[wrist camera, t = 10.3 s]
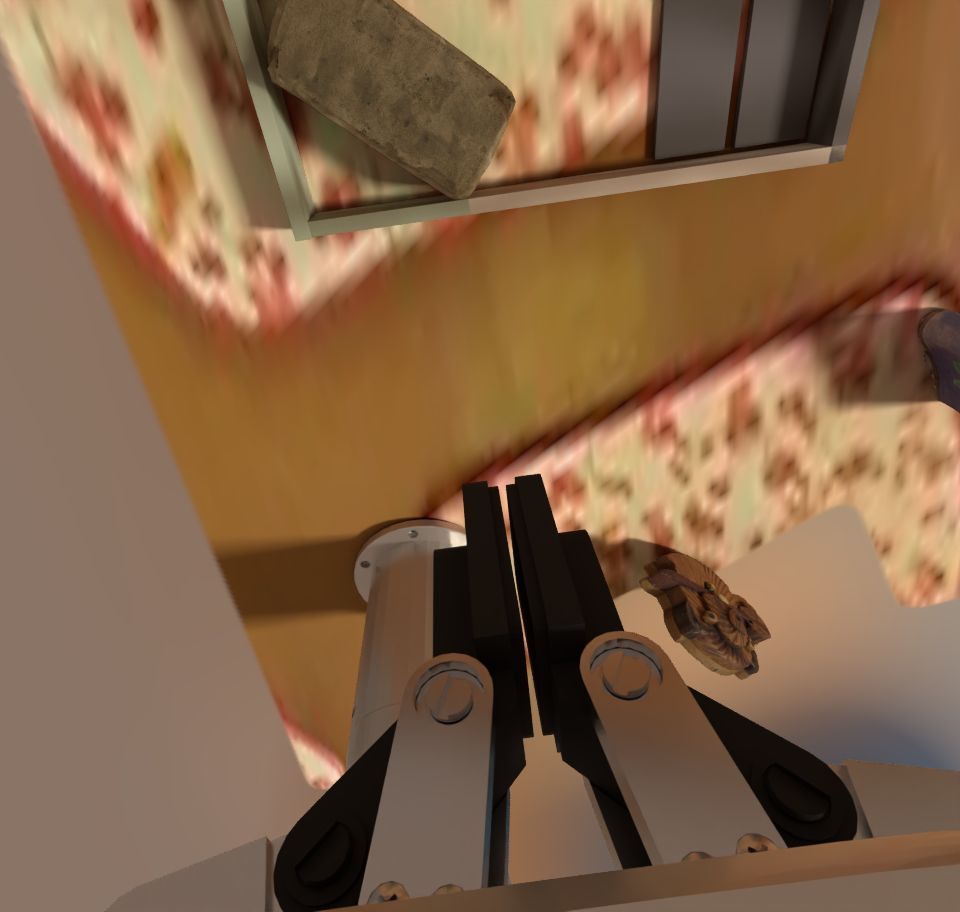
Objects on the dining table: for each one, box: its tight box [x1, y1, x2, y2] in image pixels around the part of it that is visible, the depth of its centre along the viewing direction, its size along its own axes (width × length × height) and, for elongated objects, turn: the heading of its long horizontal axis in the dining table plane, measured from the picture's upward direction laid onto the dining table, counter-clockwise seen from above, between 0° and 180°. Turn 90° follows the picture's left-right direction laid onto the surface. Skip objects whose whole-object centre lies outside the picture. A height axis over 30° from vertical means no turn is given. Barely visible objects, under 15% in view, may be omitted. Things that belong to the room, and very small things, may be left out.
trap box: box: [222, 0, 881, 241], centre depth 26 cm, size 16×31×3 cm, turn 97°
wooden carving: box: [639, 553, 771, 680], centre depth 48 cm, size 16×5×10 cm, turn 56°
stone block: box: [268, 0, 516, 200], centre depth 27 cm, size 6×12×5 cm, turn 59°
